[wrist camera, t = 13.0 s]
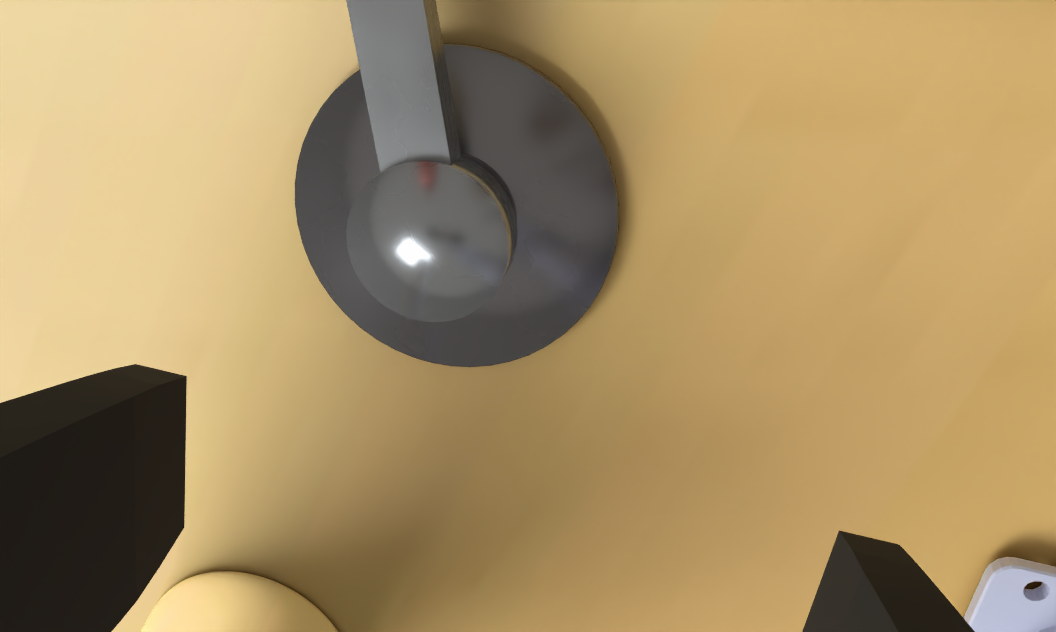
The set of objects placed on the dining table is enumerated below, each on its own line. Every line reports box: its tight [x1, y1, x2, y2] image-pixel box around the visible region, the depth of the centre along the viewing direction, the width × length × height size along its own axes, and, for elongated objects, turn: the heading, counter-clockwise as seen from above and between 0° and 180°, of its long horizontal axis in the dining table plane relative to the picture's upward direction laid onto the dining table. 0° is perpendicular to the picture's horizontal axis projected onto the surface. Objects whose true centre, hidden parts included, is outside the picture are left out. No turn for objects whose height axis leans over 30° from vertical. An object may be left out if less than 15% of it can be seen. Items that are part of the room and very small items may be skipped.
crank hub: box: [295, 44, 619, 367], centre depth 19 cm, size 7×7×1 cm
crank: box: [346, 0, 518, 322], centre depth 16 cm, size 9×3×4 cm, turn 7°
